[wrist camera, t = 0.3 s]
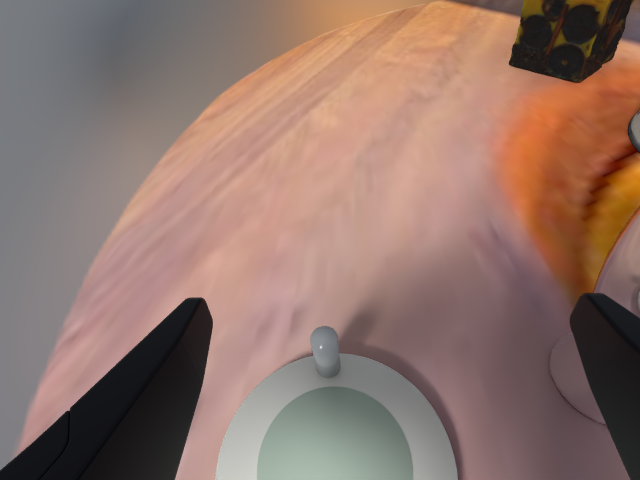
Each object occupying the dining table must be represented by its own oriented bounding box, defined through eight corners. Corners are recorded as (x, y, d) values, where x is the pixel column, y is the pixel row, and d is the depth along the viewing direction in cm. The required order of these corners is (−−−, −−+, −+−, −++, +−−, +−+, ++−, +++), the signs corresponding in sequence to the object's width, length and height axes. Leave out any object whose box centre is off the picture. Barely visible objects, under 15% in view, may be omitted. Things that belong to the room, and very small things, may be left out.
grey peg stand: (490, 623, 17) (520, 625, 14) (202, 638, 18) (163, 643, 14) (424, 354, 26) (432, 316, 23) (234, 368, 27) (215, 333, 23)
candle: (613, 60, 54) (650, -25, 47) (579, 85, 50) (615, -3, 43) (541, 44, 60) (565, -33, 53) (505, 66, 56) (526, -15, 49)
